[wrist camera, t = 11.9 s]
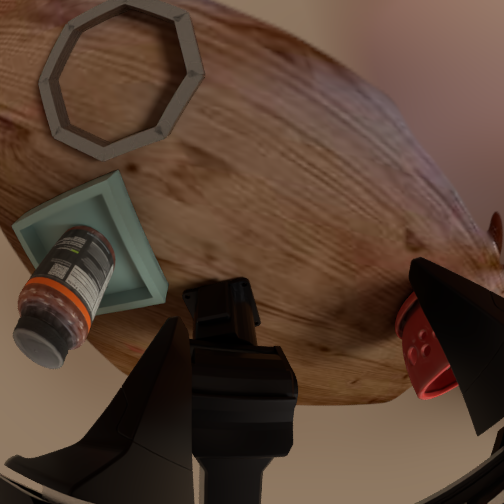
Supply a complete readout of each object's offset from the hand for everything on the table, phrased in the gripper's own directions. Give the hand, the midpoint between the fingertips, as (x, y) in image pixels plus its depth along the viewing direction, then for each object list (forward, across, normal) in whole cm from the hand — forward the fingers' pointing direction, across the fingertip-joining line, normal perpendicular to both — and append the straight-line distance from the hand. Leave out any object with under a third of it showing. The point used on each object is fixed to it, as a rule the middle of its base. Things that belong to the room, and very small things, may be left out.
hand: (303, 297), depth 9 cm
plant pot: (+13, -19, +21) cm, 31 cm away
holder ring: (+13, +8, -11) cm, 19 cm away
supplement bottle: (+13, +16, +2) cm, 20 cm away
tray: (+13, +16, +2) cm, 21 cm away
